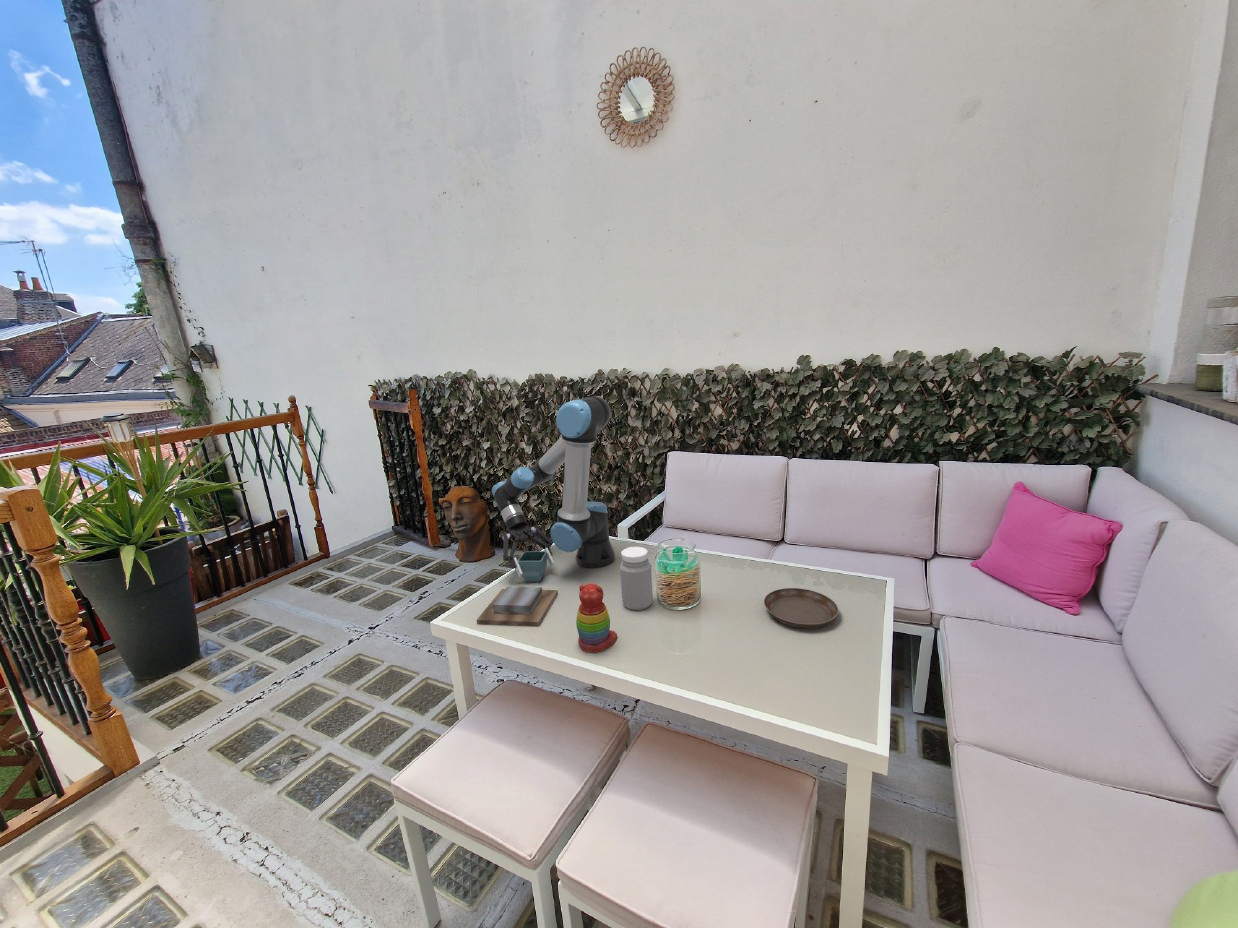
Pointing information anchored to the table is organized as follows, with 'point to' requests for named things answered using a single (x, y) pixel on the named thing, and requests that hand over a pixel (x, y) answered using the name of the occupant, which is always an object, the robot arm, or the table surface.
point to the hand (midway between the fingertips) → (536, 569)
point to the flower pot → (533, 565)
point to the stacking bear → (593, 620)
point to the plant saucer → (801, 607)
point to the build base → (519, 618)
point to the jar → (636, 578)
